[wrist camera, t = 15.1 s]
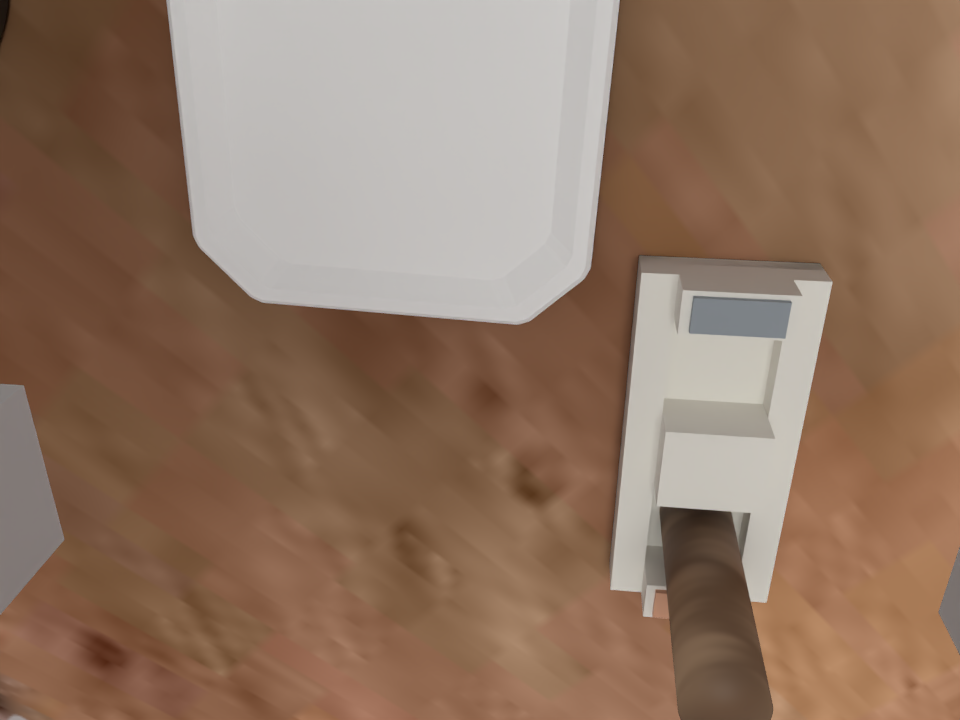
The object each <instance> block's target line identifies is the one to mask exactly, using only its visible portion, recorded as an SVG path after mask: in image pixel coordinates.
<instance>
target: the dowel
mask: <svg viewBox="0 0 960 720" xmlns="http://www.w3.org/2000/svg"><path fill="white" fill-rule="evenodd" d="M659 514H660V525H661V535H662V546H663V557H664V567H665V578H666V589H667V599H668V610H669V621H670V631H671V642H672V653H673V663H674V674H675V685H676V695H677V706H678V713H679V716H680V719H681V720H771V717H772V714H773V704H772V699H771V694H770V690H769V685H768V680H767V676H766V671H765V666H764V662H763V657H762V652H761V648H760V643H759V638H758V634H757V629H756V624H755V620H754V615H753V610H752V606H751V601H750V597H749V592H748V587H747V583H746V578H745V573H744V569H743V564H742V559H741V555H740V550H739V545H738V541H737V536H736V531H735V527H734V522H733V517H732V513H731V512H730V511H717V510H703V509H690V508H676V507H663V506H660V511H659Z"/></svg>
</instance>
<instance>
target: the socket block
mask: <svg viewBox="0 0 960 720" xmlns="http://www.w3.org/2000/svg"><path fill="white" fill-rule="evenodd" d="M831 287H832V280H831V279H830V277H829V276H828V274H827V273H826V272H825V270H824V269H823V267H822V266H821V264H818V263H796V262H774V261H752V260H730V259H708V258H686V257H664V256H642V255H639V261H638V271H637V281H636V292H635V302H634V313H633V323H632V334H631V344H630V355H629V365H628V375H627V386H626V396H625V407H624V417H623V428H622V438H621V448H620V459H619V469H618V480H617V490H616V501H615V511H614V522H613V532H612V542H611V553H610V590H622V591H634V592H641V596H642V609H643V616H646V617H653V618H664V619H669V610H668V599H667V589H666V578H665V567H664V557H663V546H662V535H661V525H660V514H659V511H660V506H663V507H676V508H690V509H703V510H717V511H730V512H731V513H732V517H733V522H734V527H735V531H736V536H737V541H738V545H739V550H740V555H741V559H742V564H743V569H744V573H745V578H746V583H747V587H748V592H749V597H750V601H753V602H765V603H766V602H767V597H768V593H769V588H770V583H771V578H772V573H773V568H774V563H775V559H776V554H777V549H778V544H779V539H780V534H781V530H782V525H783V520H784V515H785V510H786V505H787V500H788V496H789V491H790V486H791V481H792V476H793V471H794V466H795V462H796V457H797V452H798V447H799V442H800V437H801V432H802V428H803V423H804V418H805V413H806V408H807V403H808V398H809V394H810V389H811V384H812V379H813V374H814V369H815V365H816V360H817V355H818V350H819V345H820V340H821V335H822V331H823V326H824V321H825V316H826V311H827V306H828V301H829V297H830V292H831Z"/></svg>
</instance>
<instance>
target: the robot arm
mask: <svg viewBox="0 0 960 720" xmlns="http://www.w3.org/2000/svg"><path fill="white" fill-rule="evenodd" d="M7 8H8V0H0V38H1V35H2V32H3V29H4V25H5V21H6V15H7ZM63 541H64V536H63V533H62V529H61V525H60V521H59V517H58V514H57V510H56V506H55V502H54V499H53V495H52V491H51V487H50V483H49V480H48V476H47V472H46V468H45V464H44V461H43V457H42V453H41V449H40V446H39V442H38V438H37V434H36V430H35V427H34V423H33V419H32V415H31V411H30V408H29V404H28V400H27V396H26V393H25V389H24V385H9V384H0V614H1V613H2V612H3V611H4V610H5V608H6V607H7V606H8V605H9V604H10V603H11V601H12V600H13V599H14V598H15V597H16V596H17V594H18V593H19V592H20V591H21V590H22V589H23V587H24V586H25V585H26V584H27V583H28V582H29V580H30V579H31V578H32V577H33V576H34V575H35V573H36V572H37V571H38V570H39V569H40V568H41V566H42V565H43V564H44V563H45V562H46V561H47V559H48V558H49V557H50V556H51V555H52V554H53V552H54V551H55V550H56V549H57V548H58V546H59V545H60V544H61V543H62V542H63ZM939 614H940V616H941V618H942V620H943V622H944V624H945V626H946V628H947V630H948V632H949V634H950V636H951V638H952V640H953V642H954V644H955V646H956V648H957V650H958V652H959V654H960V548H959V551H958V554H957V557H956V560H955V563H954V566H953V569H952V572H951V575H950V578H949V581H948V585H947V588H946V591H945V594H944V597H943V600H942V603H941V606H940V609H939Z"/></svg>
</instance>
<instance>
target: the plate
mask: <svg viewBox="0 0 960 720" xmlns="http://www.w3.org/2000/svg"><path fill="white" fill-rule="evenodd" d="M166 1H167V10H168V19H169V27H170V36H171V45H172V54H173V63H174V72H175V80H176V89H177V98H178V107H179V116H180V125H181V134H182V142H183V151H184V160H185V169H186V178H187V187H188V196H189V204H190V213H191V222H192V231H193V237H194V239H195V241H196V243H197V245H198V246H199V248H200V249H201V250H202V251H203V252H204V253H205V254H206V255H207V256H208V257H209V258H211V259H212V260H213V261H214V262H215V263H216V264H217V265H218V266H219V267H220V268H221V269H222V270H223V271H224V272H225V273H226V274H227V275H228V276H229V277H230V278H231V279H232V280H233V281H234V282H236V283H237V284H238V285H239V286H240V287H241V288H242V289H243V290H244V291H245V292H246V293H247V294H248V295H249V296H250V297H251V298H254V299H256V300H258V301H260V302H262V303H273V304H285V305H296V306H308V307H319V308H331V309H342V310H354V311H365V312H377V313H388V314H400V315H411V316H423V317H434V318H446V319H457V320H469V321H480V322H492V323H503V324H515V325H518V324H522V323H526V322H529V321H531V320H532V319H533V318H535V317H536V316H537V315H539V314H540V313H541V312H542V311H544V310H545V309H546V308H548V307H549V306H550V305H551V304H553V303H554V302H555V301H557V300H558V299H559V298H561V297H562V296H563V295H564V294H566V293H567V292H568V291H570V290H571V289H572V288H573V287H575V286H576V285H577V284H579V283H580V282H581V281H583V280H584V279H585V277H586V275H587V274H588V272H589V270H590V268H591V262H592V253H593V244H594V235H595V225H596V216H597V207H598V198H599V188H600V179H601V170H602V161H603V152H604V142H605V133H606V124H607V115H608V105H609V96H610V87H611V78H612V68H613V59H614V50H615V41H616V31H617V22H618V13H619V4H620V0H166Z"/></svg>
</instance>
